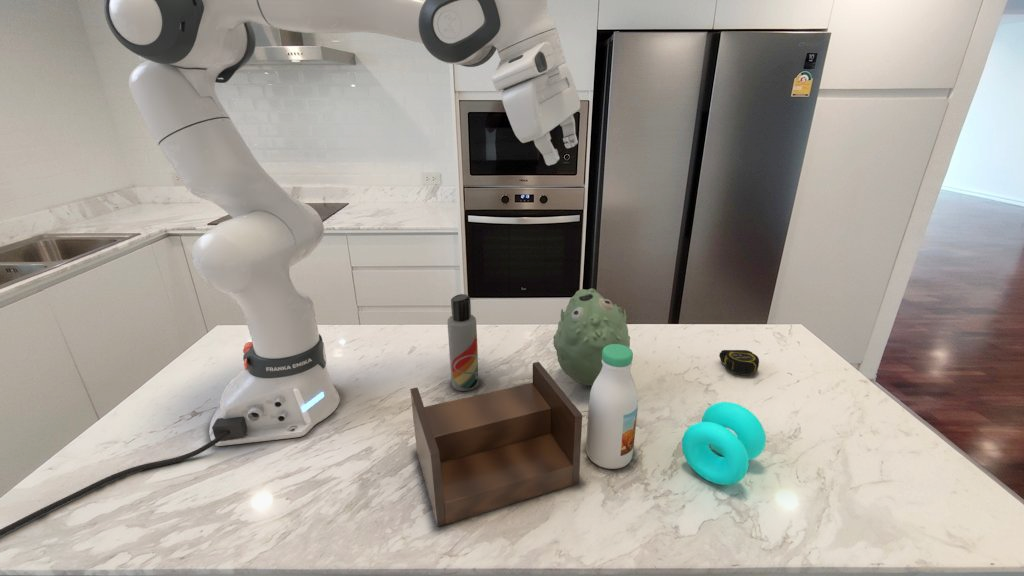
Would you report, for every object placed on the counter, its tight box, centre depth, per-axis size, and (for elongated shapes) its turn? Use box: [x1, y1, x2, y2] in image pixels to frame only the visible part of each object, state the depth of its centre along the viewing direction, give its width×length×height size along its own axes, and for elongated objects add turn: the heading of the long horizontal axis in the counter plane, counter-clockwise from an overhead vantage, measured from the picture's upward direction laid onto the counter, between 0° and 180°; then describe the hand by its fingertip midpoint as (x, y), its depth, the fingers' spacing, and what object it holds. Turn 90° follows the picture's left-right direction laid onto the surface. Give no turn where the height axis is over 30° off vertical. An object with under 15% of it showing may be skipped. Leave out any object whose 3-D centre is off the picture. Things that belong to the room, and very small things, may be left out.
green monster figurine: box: [553, 288, 631, 386], centre depth 98 cm, size 16×19×20 cm
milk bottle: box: [585, 344, 639, 470], centre depth 77 cm, size 8×8×20 cm
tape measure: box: [718, 349, 760, 376], centre depth 104 cm, size 7×7×4 cm
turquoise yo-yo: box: [681, 401, 767, 486], centre depth 76 cm, size 10×10×10 cm
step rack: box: [409, 361, 583, 527], centre depth 76 cm, size 22×16×13 cm
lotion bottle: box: [447, 293, 480, 392], centre depth 97 cm, size 6×6×20 cm
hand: (563, 154), depth 75 cm, fingers open, 8 cm apart
